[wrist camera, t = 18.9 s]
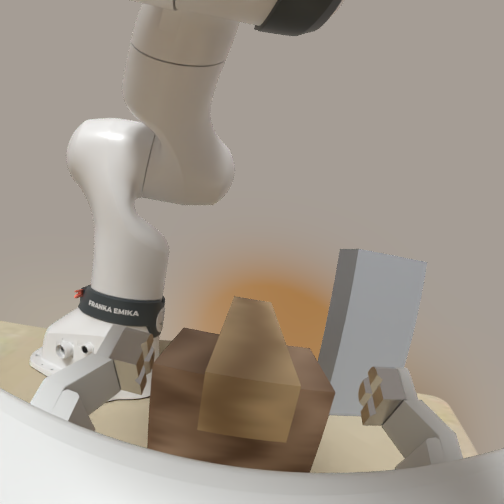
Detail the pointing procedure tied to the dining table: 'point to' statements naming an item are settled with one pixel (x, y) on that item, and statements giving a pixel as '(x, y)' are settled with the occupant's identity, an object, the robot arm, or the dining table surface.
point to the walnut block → (224, 446)
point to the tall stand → (368, 320)
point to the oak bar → (250, 377)
